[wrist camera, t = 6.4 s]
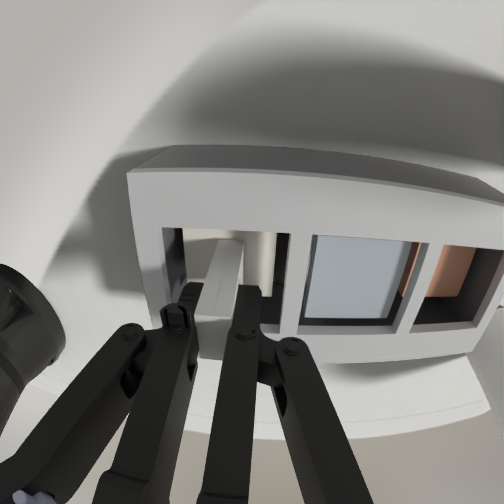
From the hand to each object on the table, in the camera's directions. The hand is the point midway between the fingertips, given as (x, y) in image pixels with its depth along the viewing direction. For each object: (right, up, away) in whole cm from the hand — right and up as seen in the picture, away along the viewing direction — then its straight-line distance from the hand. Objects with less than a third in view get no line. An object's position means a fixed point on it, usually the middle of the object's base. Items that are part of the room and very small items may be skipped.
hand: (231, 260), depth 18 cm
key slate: (+7, +1, +1) cm, 8 cm away
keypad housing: (+8, +2, +4) cm, 9 cm away
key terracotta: (+15, +1, +3) cm, 15 cm away
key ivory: (0, +2, +3) cm, 4 cm away
